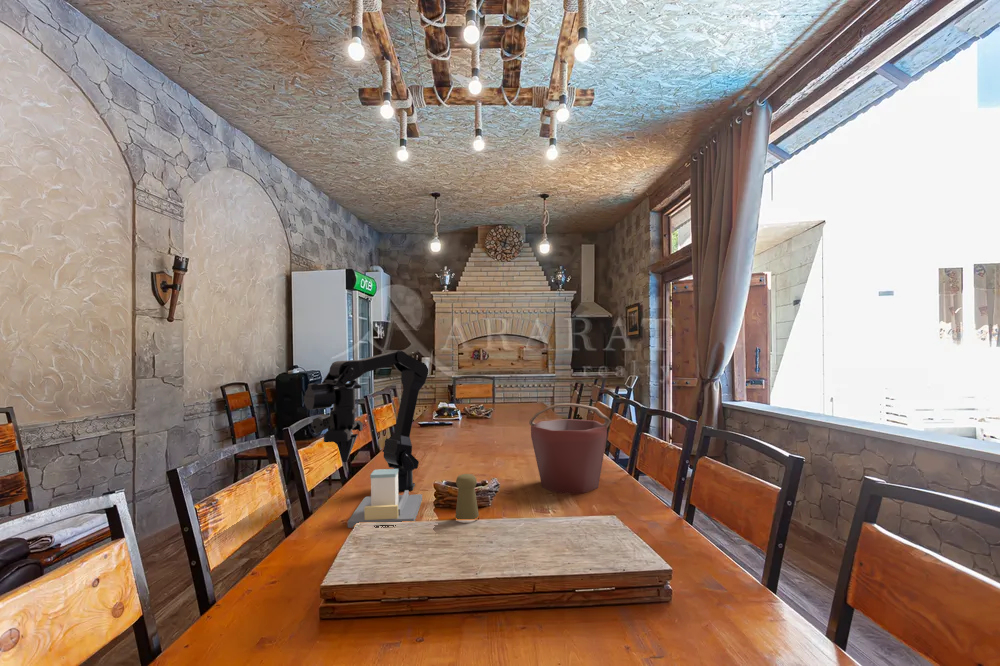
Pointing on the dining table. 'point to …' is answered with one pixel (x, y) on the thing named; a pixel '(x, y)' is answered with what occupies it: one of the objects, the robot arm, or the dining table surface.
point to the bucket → (569, 451)
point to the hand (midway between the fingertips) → (344, 461)
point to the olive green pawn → (466, 497)
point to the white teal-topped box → (384, 487)
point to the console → (387, 510)
